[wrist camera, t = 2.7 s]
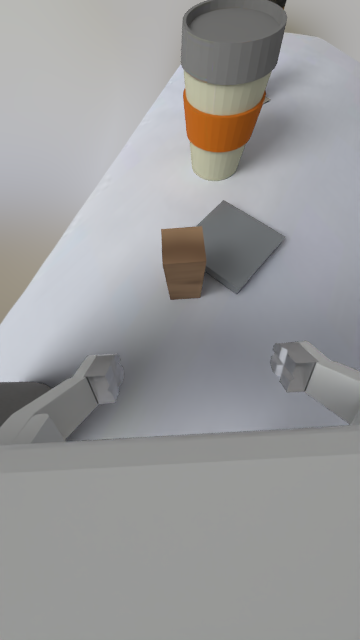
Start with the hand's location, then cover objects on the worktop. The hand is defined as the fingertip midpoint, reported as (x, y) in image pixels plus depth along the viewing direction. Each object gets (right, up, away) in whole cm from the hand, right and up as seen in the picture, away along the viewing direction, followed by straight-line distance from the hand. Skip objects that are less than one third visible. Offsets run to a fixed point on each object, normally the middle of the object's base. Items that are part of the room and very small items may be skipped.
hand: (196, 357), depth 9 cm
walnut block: (0, +7, +18) cm, 19 cm away
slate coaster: (+7, +14, +20) cm, 25 cm away
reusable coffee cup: (+6, +33, +26) cm, 42 cm away
